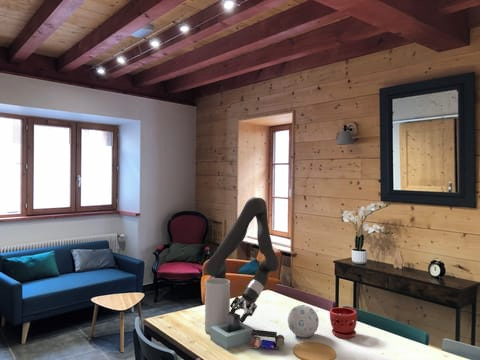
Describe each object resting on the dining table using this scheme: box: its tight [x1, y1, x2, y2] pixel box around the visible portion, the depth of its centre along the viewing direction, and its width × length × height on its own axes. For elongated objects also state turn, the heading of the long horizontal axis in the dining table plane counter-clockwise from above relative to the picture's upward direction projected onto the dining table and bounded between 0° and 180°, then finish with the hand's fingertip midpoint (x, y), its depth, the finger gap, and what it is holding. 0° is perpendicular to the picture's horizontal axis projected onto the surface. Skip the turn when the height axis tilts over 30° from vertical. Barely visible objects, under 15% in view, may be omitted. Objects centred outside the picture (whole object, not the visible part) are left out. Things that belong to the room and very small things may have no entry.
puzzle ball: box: [287, 304, 320, 338], centre depth 186 cm, size 15×15×15 cm
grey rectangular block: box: [228, 312, 241, 333], centre depth 180 cm, size 6×4×11 cm, turn 131°
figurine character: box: [250, 329, 285, 351], centre depth 172 cm, size 7×8×15 cm
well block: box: [209, 322, 256, 351], centre depth 180 cm, size 14×16×6 cm
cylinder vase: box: [204, 278, 231, 334], centre depth 193 cm, size 12×12×25 cm
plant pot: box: [329, 306, 358, 339], centre depth 189 cm, size 13×13×12 cm
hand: (235, 319), depth 181 cm, fingers open, 8 cm apart
